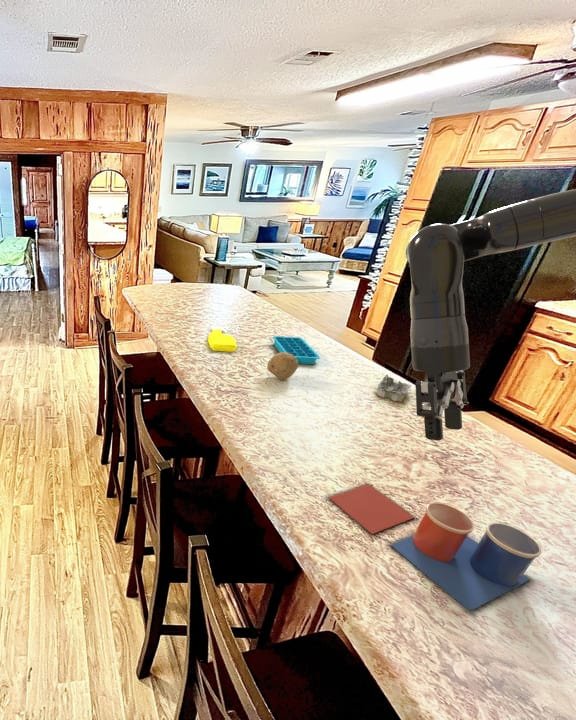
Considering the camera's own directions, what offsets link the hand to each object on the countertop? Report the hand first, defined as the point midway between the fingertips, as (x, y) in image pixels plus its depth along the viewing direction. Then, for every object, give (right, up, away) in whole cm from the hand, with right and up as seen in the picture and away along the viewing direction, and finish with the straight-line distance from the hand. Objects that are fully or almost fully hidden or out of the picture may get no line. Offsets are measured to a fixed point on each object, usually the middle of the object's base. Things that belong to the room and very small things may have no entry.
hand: (444, 434), depth 68 cm
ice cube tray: (+16, +15, +84) cm, 87 cm away
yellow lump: (-9, +21, +96) cm, 99 cm away
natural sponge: (+2, +6, +65) cm, 65 cm away
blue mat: (+4, -24, +2) cm, 24 cm away
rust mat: (-4, -18, +13) cm, 23 cm away
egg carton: (+34, +2, +56) cm, 65 cm away
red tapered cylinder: (+2, -22, +5) cm, 23 cm away
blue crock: (+9, -24, 0) cm, 26 cm away
